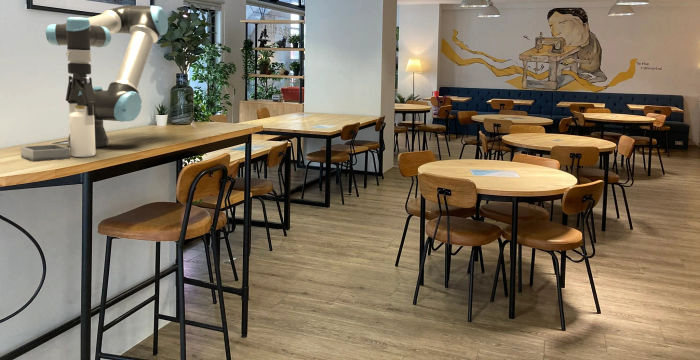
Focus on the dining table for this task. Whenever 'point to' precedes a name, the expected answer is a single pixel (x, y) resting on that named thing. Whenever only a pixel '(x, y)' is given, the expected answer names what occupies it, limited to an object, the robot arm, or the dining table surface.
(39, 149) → the grey square tray
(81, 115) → the potion bottle
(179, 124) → the dining table surface
